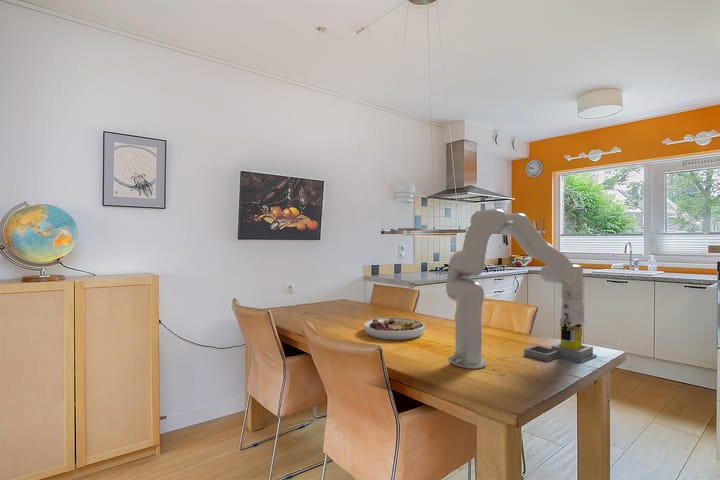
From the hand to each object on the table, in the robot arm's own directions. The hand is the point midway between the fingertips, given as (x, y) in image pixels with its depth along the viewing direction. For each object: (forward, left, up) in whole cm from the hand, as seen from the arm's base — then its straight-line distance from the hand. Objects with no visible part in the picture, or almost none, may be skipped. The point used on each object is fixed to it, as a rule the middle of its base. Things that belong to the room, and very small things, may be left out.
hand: (571, 337), depth 153 cm
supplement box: (0, 0, -7) cm, 7 cm away
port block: (0, 0, -7) cm, 7 cm away
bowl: (-33, +70, -8) cm, 78 cm away
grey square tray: (-10, +7, -7) cm, 14 cm away
